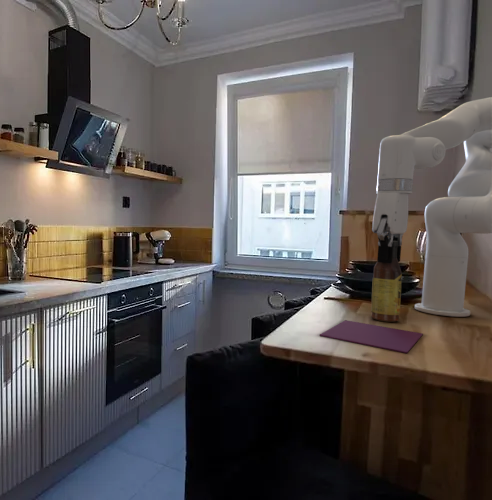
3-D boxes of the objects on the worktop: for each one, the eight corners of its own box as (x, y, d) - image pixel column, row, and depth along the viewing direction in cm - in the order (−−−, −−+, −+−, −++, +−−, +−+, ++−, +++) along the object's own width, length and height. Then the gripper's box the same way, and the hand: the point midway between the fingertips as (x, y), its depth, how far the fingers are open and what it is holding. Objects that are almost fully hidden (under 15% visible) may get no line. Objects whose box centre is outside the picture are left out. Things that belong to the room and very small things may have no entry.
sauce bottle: (403, 323, 102) (409, 241, 100) (375, 322, 104) (380, 241, 102) (393, 317, 109) (398, 240, 107) (366, 315, 110) (371, 239, 108)
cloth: (345, 321, 103) (345, 320, 103) (422, 334, 93) (422, 333, 93) (319, 335, 90) (319, 334, 90) (406, 353, 79) (407, 352, 79)
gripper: (390, 190, 112) (385, 259, 113) (363, 186, 101) (358, 262, 102) (423, 189, 106) (417, 261, 107) (398, 185, 95) (392, 265, 97)
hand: (388, 261), depth 105 cm, fingers closed on sauce bottle, 4 cm apart
